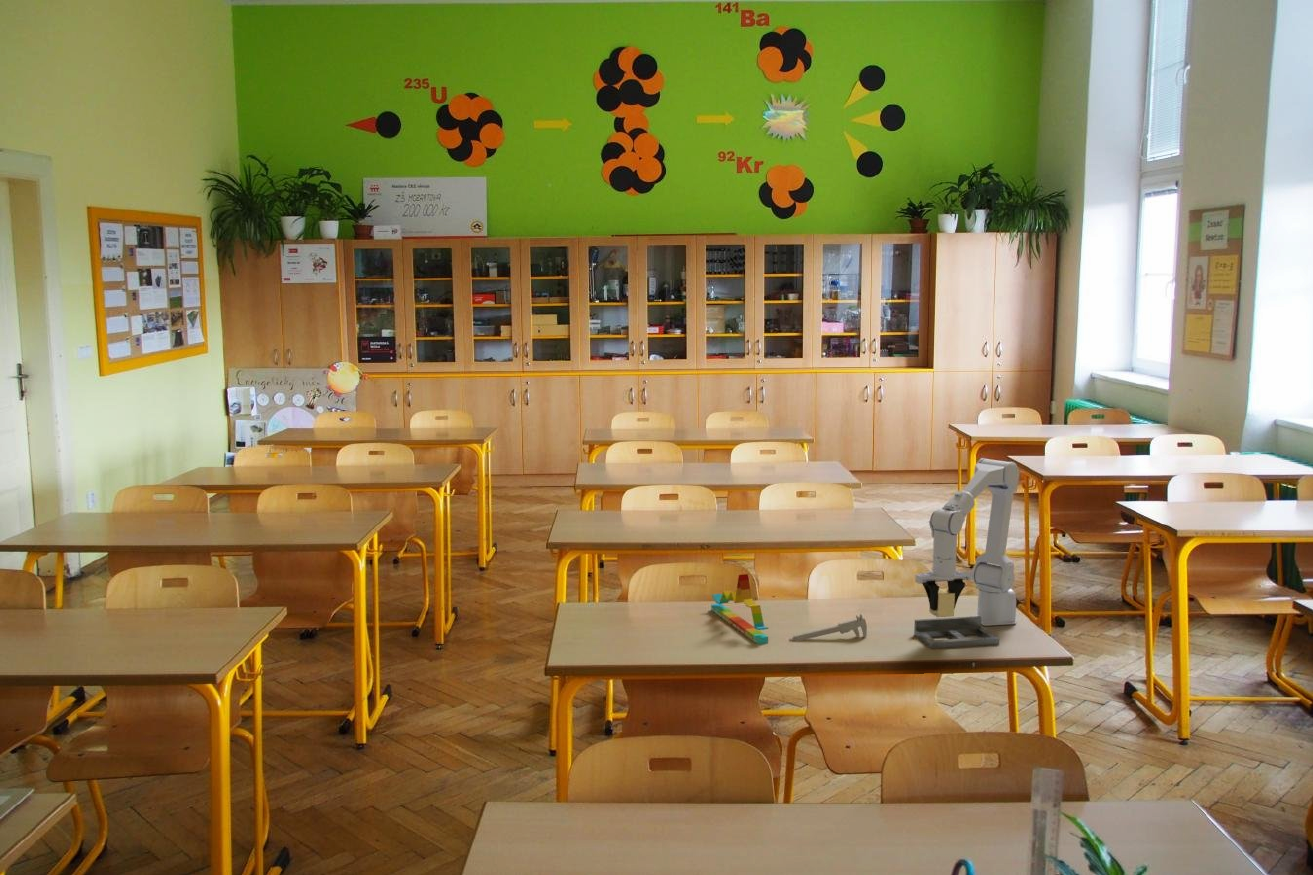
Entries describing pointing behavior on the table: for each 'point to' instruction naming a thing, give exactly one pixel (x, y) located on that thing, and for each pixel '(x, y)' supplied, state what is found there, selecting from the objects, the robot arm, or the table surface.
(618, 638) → the table surface
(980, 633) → the grey tray
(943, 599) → the brass block
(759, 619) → the rainbow striped peaked bar
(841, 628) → the caliper
